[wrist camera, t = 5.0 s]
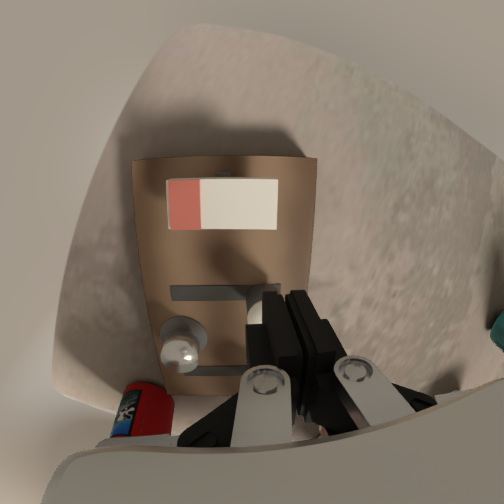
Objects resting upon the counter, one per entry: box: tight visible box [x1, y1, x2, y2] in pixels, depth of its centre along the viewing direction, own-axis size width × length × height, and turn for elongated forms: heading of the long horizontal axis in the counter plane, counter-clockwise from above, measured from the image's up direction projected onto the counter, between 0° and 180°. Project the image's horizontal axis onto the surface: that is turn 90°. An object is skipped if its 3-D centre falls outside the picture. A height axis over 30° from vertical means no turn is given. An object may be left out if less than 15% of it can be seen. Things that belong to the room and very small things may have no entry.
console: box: [131, 155, 317, 396], centre depth 24 cm, size 14×24×5 cm, turn 179°
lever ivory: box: [246, 283, 280, 324], centre depth 21 cm, size 3×3×4 cm
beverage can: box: [110, 382, 174, 438], centre depth 26 cm, size 7×7×12 cm
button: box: [160, 330, 200, 373], centre depth 22 cm, size 3×3×2 cm
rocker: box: [166, 177, 278, 230], centre depth 18 cm, size 7×3×1 cm, turn 89°
